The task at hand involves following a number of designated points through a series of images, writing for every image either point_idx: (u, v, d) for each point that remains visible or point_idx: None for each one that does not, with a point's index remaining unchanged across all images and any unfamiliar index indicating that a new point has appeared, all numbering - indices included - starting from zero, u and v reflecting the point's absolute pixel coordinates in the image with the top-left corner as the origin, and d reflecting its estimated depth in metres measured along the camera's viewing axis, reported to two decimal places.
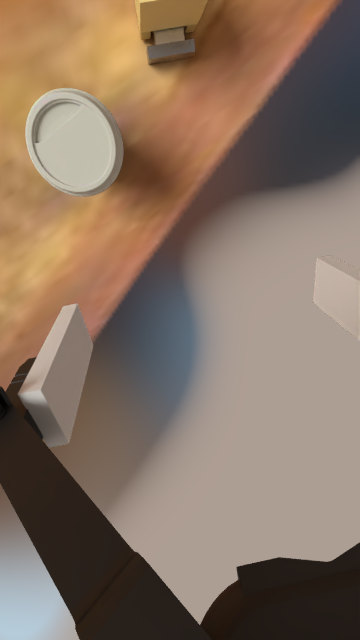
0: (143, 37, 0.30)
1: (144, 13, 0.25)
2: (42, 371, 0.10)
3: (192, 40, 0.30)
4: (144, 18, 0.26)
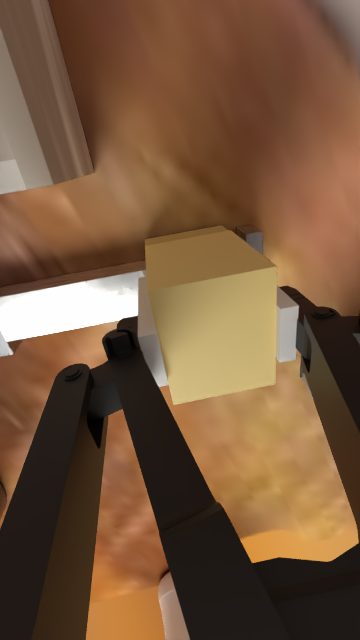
0: None
1: None
2: (150, 322, 0.12)
3: (248, 237, 0.17)
4: None
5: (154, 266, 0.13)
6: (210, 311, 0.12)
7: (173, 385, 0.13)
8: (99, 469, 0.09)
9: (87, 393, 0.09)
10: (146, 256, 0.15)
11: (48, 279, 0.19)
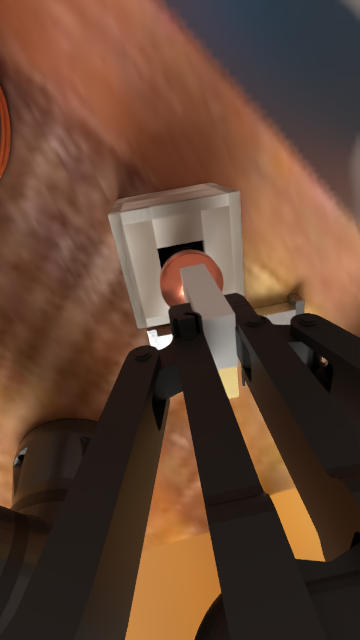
0: None
1: None
2: (206, 307, 0.13)
3: (297, 303, 0.33)
4: None
5: None
6: None
7: None
8: (157, 451, 0.09)
9: (154, 375, 0.10)
10: None
11: None
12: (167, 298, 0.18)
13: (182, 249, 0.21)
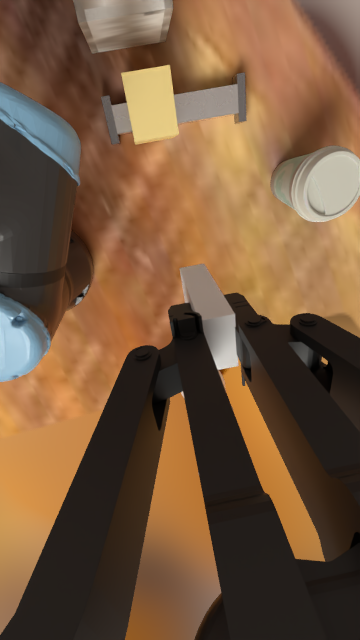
0: None
1: None
2: (206, 307, 0.13)
3: (238, 75, 0.36)
4: None
5: None
6: (146, 86, 0.30)
7: (134, 128, 0.32)
8: (157, 451, 0.09)
9: (154, 375, 0.10)
10: None
11: None
12: None
13: None
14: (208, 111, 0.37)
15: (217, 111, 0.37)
